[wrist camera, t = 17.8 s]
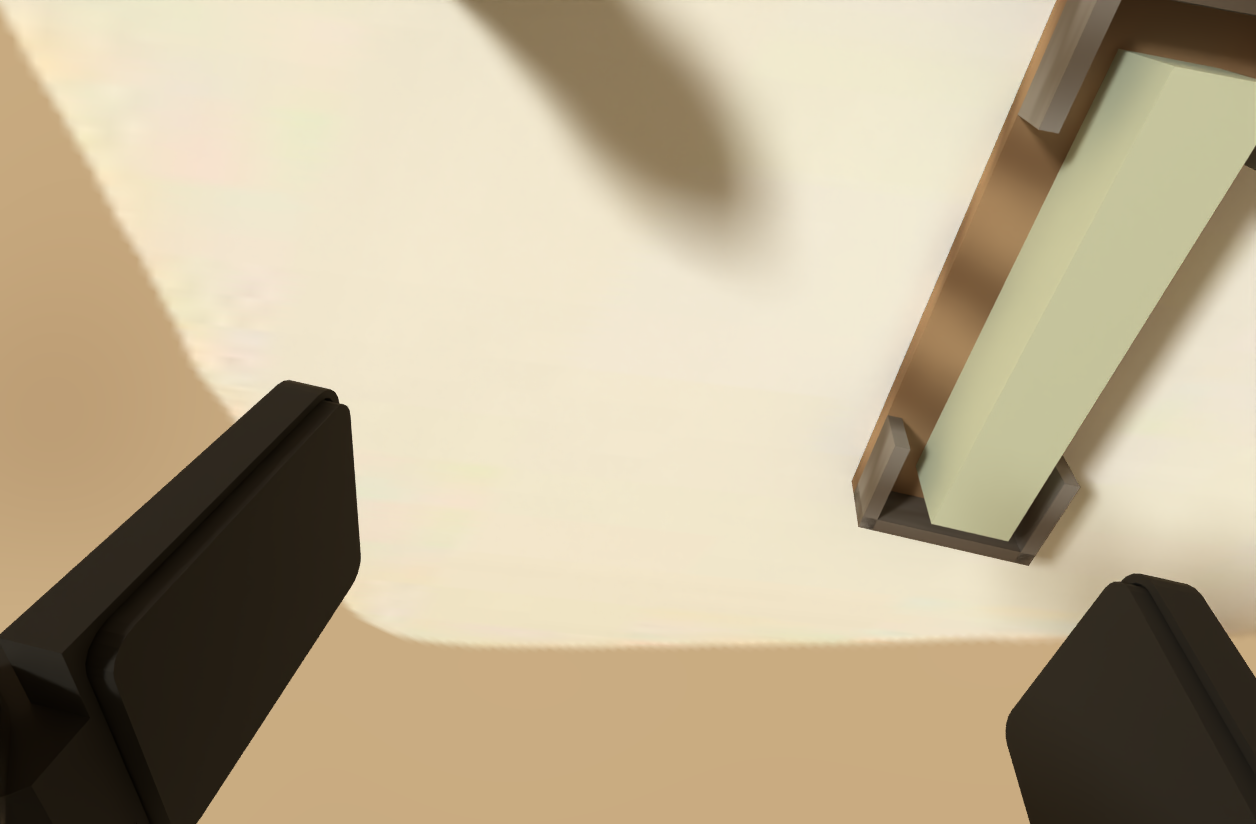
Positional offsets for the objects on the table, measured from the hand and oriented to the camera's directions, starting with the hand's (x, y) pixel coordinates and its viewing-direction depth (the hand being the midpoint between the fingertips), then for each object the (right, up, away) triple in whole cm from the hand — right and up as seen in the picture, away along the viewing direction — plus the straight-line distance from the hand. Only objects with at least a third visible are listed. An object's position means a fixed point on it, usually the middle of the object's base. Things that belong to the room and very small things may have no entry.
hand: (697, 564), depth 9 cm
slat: (+19, +7, +27) cm, 34 cm away
